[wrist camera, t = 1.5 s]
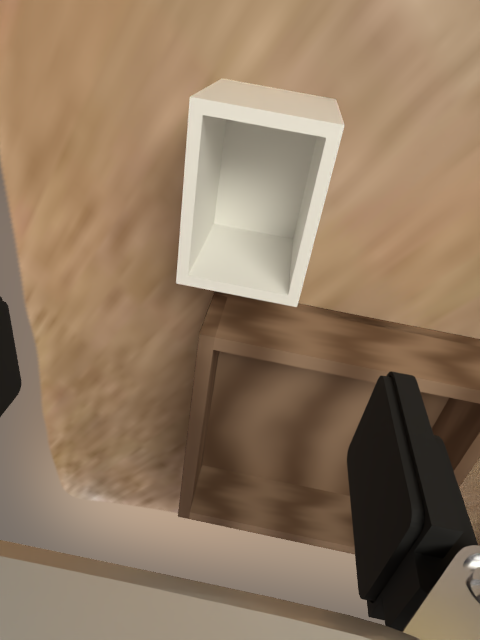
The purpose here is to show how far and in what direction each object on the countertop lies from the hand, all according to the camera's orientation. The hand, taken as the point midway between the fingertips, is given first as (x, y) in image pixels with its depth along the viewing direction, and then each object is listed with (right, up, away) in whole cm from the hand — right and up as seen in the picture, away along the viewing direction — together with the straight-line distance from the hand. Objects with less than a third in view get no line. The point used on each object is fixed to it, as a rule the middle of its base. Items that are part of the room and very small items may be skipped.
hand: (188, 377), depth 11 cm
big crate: (+8, -6, +27) cm, 29 cm away
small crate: (+3, +11, +16) cm, 20 cm away
